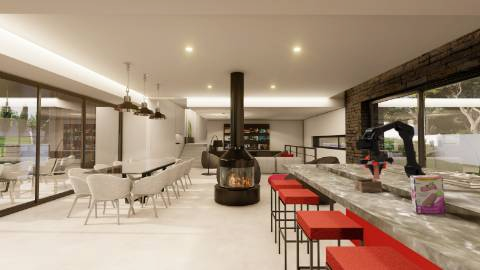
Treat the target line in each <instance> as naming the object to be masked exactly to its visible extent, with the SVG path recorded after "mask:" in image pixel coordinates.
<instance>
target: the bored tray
mask: <svg viewBox="0 0 480 270" xmlns="http://www.w3.org/2000/svg"><path fill="white" fill-rule="evenodd" d="M353 181H354V189H355V190H357V191H359V192H360V193H375V192H383V186H382V181H380V180H379V179H374V178H364V179H363V178H361V179H360V178H359V179H354V180H353Z"/></svg>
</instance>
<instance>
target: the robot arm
mask: <svg viewBox="0 0 480 270" xmlns="http://www.w3.org/2000/svg"><path fill="white" fill-rule="evenodd" d="M393 129H394V131H396V132H397V133H398V136H399V137H400V139H401V140H402V143H403V148H404V153H405V157H406V164H405V165H404V166H403V168H404V173H405V175H406V177H407V178H408V179H410V176H424V175H427V174H426V173H424V171H423V170H422V167H421V165H420V164H419V162H417V157H416V152H415V146H414V141H413V139H414V136H415V127H414V126H412V125H410V124H409V123H406V122H403V121H401V120H399V119H397V120H392V121H390V122H388V123H385V124H382V125H379V126H375V127H368V128H366V129H365V132H364V133H363V134H364V135H362V138H357V141H356V143H355V148H356V149H357V151H366V150H367V153H368V159H366V158H358V159H357V160H356V162H357V164H358V165H365V166H366V167H367V168H368V170H369V171H370V173H371V175H372V177H373V176H374V171H373V165H374V164H373V163H376V165H378V166H379V176H380V175H381V174H382V170H383V168H384V166H385V165H387V163H390V164H391V163H394V158H393V157H391V156H389V154H388V153H382V152H381V150H380V142H382V138H380V136H382V135H383V134H384V133H386V132H388V131H390V130H393Z"/></svg>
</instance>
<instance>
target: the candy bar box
mask: <svg viewBox="0 0 480 270" xmlns="http://www.w3.org/2000/svg"><path fill="white" fill-rule="evenodd" d="M443 180H444V179H443V176H441V175H438V174H436V175H435V174H434V175H433V174H432V175H427V174H426V175H424V176H410V178H409V181H410V191H411V205H412V207H411V208H412V211H413V212H414V213H415V214H417V215H446V206H445V205H446V204H445V203H446V202H445V194H444V181H443Z"/></svg>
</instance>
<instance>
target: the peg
mask: <svg viewBox="0 0 480 270" xmlns="http://www.w3.org/2000/svg"><path fill="white" fill-rule="evenodd" d="M373 171H374V176H373V175H372V179H375V180H379V179H380V178H381V177H380V175H379V166H378V165H377V164H373Z"/></svg>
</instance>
